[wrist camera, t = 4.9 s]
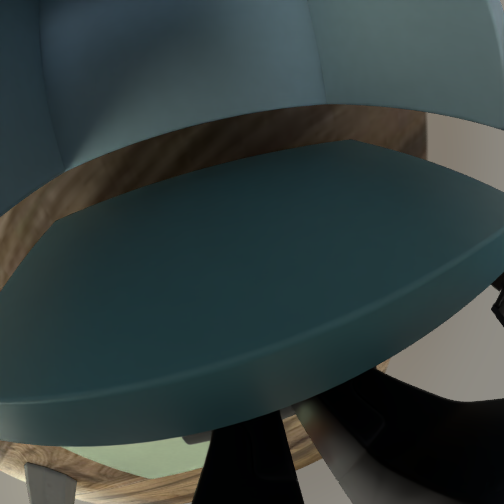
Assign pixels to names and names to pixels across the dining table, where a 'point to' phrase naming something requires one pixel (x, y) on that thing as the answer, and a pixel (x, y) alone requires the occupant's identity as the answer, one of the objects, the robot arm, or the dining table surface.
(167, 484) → the dining table surface
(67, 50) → the drawer
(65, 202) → the dining table surface
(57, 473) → the coffee maker
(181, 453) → the mat
